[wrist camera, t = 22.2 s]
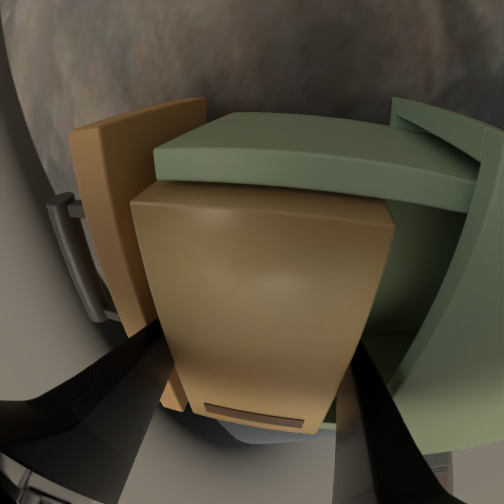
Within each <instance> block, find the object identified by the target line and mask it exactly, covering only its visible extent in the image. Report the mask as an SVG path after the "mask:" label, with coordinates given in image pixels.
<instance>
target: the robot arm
mask: <svg viewBox="0 0 504 504" xmlns="http://www.w3.org/2000/svg"><path fill="white" fill-rule="evenodd" d="M173 368H174V361H173V358H172V356H171V353H170V350H169V347H168V344H167V341H166V338H165V335H164V332H163V329H162V326H161V323H160V320H159V317H158V318H156V319H155V320H154V321H152V322H151V323H149V324H148V325H147V326H145V327H144V328H142V329H141V330H139V331H138V332H137V333H135V334H134V335H132V336H131V337H130V338H128V339H127V340H125V341H124V342H123V343H121V344H120V345H118V346H117V347H116V348H114V349H113V350H111V351H110V352H108V353H107V354H106V355H104V356H103V357H101V358H100V359H99V360H97V361H96V362H95V363H94V364H91V365H90V366H88V367H87V368H86V369H84V370H83V371H81V372H80V373H78V374H77V375H75V376H74V377H72V378H71V379H69V380H67V381H65V382H64V383H62V384H60V385H58V386H57V387H55V388H53V389H51V390H49V391H48V392H46V393H44V394H42V395H40V396H38V397H36V398H34V399H30V400H26V401H2V400H1V401H0V504H92V502H93V500H95V501H98V502H101V503H104V504H117V503H118V501H119V498H120V496H121V493H122V491H123V488H124V486H125V483H126V481H127V478H128V476H129V473H130V471H131V468H132V466H133V463H134V461H135V458H136V455H137V453H138V451H139V448H140V446H141V444H142V441H143V439H144V436H145V434H146V431H147V429H148V427H149V424H150V422H151V420H152V417H153V415H154V413H155V410H156V408H157V406H158V403H159V401H160V399H161V396H162V394H163V392H164V389H165V387H166V385H167V382H168V380H169V378H170V375H171V373H172V370H173ZM335 451H336V452H335V470H334V485H333V498H332V504H466V503H464V502H463V501H461V500H459V499H457V498H456V497H454V496H453V495H451V494H450V493H449V492H448V491H447V490H446V489H445V488H444V487H443V486H442V485H441V483H440V482H439V480H438V479H437V477H436V476H435V474H434V472H433V471H432V469H431V468H430V466H429V464H428V463H427V461H426V460H425V458H424V457H423V455H422V453H421V452H420V450H419V448H418V447H417V445H416V443H415V441H414V439H413V438H412V436H411V434H410V432H409V430H408V428H407V426H406V424H405V422H404V420H403V418H402V416H401V414H400V412H399V410H398V408H397V406H396V404H395V402H394V400H393V398H392V396H391V394H390V392H389V390H388V388H387V386H386V385H385V383H384V381H383V379H382V377H381V375H380V373H379V371H378V369H377V368H376V366H375V364H374V362H373V360H372V358H371V357H370V355H369V353H368V351H367V349H366V347H365V346H364V344H363V342H362V340H361V339H360V340H359V343H358V345H357V348H356V350H355V353H354V355H353V358H352V360H351V362H350V364H349V366H348V369H347V371H346V373H345V376H344V378H343V380H342V382H341V384H340V387H339V389H338V391H337V402H336V449H335Z"/></svg>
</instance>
